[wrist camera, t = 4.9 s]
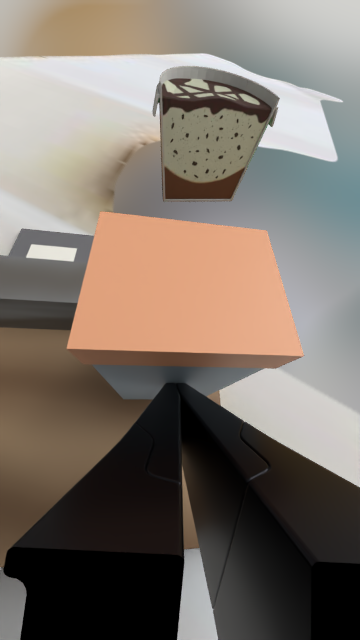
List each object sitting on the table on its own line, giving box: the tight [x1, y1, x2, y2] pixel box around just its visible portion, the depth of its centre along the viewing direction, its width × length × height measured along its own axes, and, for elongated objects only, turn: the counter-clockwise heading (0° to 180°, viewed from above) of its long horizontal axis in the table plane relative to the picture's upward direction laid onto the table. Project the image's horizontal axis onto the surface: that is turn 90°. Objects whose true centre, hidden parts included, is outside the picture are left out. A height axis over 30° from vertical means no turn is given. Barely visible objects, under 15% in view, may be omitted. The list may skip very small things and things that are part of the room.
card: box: [9, 229, 94, 263], centre depth 19 cm, size 8×14×1 cm, turn 91°
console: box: [0, 255, 221, 567], centre depth 12 cm, size 15×22×6 cm
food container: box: [153, 66, 280, 202], centre depth 24 cm, size 12×6×10 cm, turn 103°
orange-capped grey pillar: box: [67, 211, 304, 399], centre depth 10 cm, size 4×5×10 cm
